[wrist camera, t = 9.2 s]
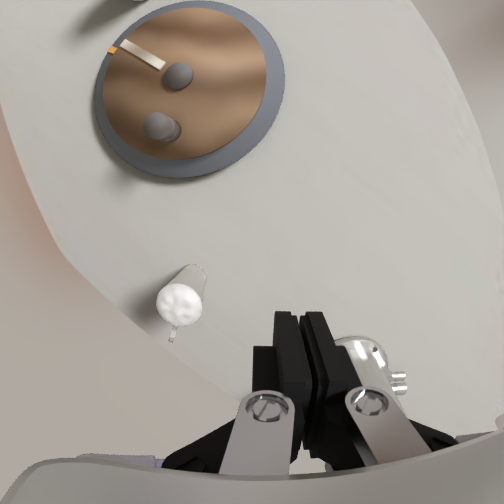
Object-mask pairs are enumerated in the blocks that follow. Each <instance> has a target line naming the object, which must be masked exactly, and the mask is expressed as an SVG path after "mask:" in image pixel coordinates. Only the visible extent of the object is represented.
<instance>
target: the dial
mask: <svg viewBox="0 0 504 504" xmlns="http://www.w3.org/2000/svg"><path fill="white" fill-rule="evenodd" d="M266 76H267V72H266V62H265V58H264V54H263V51H262V49H261V46H260V44H259V43H258V41H257V39H256V37H255V36H254V35H253V34H252V32H251V31H250V30H249V29H248V28H247V27H246V26H245V25H244V24H242V23H241V22H240V21H238V20H237V19H235V18H234V17H232V16H230V15H227V14H225V13H223V12H220V11H217V10H212V9H207V8H196V7H194V8H181V9H176V10H172V11H168V12H165V13H162V14H160V15H157V16H155V17H153V18H151V19H149V20H147V21H146V22H144V23H143V24H141V25H140V26H138V27H137V28H136V29H134V30H133V31H132V32H131V33H130V34H129V35H128V36H127V37H126V38H125V39H124V40H123V41H122V43H121V44H120V45H119V47H118V48H117V49H116V51H115V53H114V54H113V56H112V58H111V60H110V62H109V65H108V67H107V70H106V74H105V77H104V84H103V102H104V108H105V112H106V115H107V118H108V120H109V122H110V124H111V126H112V127H113V129H114V131H115V132H116V133H117V134H118V136H119V137H120V138H121V139H122V140H123V141H124V142H125V143H127V144H128V145H129V146H131V147H132V148H134V149H135V150H137V151H139V152H141V153H144V154H146V155H149V156H152V157H156V158H162V159H180V160H181V159H191V158H195V157H200V156H203V155H206V154H209V153H212V152H214V151H216V150H218V149H220V148H222V147H224V146H225V145H227V144H228V143H230V142H231V141H233V140H234V139H235V138H236V137H237V136H238V135H240V134H241V133H242V132H243V131H244V129H245V128H246V127H247V126H248V125H249V124H250V122H251V121H252V119H253V118H254V117H255V115H256V113H257V111H258V109H259V107H260V105H261V102H262V99H263V96H264V92H265V87H266Z"/></svg>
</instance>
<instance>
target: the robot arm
mask: <svg viewBox="0 0 504 504" xmlns="http://www.w3.org/2000/svg"><path fill="white" fill-rule="evenodd" d="M404 379H405V372H391V371H389V369H388V359H387V355H386V353H385V352H384V350H383V349H382V347H381V346H380V345H379V344H378V343H377V342H375V341H373V340H371V339H369V338H364V337H347V338H343V339H339V340H336V341H334V339H333V337H332V335H331V332H330V330H329V327H328V325H327V323H326V320H325V318H324V316H323V313H322V312H306V314H305V316H300V321H299V324H298V320H297V316H295V315H291V312H286V311H275V317H274V333H273V346H254V347H253V377H252V393H251V394H248V395H247V396H246V397H245V398H243V399H242V401H241V403H240V406H239V409H238V412H237V416H236V418H235V419H233V420H232V421H230V422H228V423H227V424H225V425H223V426H221V427H220V428H218V429H217V430H214V431H213V432H211V433H209V434H207V435H206V436H204V437H202V438H200V439H198V440H196V441H195V442H193V443H191V444H189V445H187V446H185V447H183V448H181V449H179V450H177V451H176V452H174V453H172V454H170V455H169V456H168V457H166V459H155V456H130V455H107V454H93V453H90V454H82V455H80V456H77V457H76V458H58V459H50V460H44V461H41V462H38V463H35V464H33V465H32V466H30V467H28V468H27V469H26V470H25V471H24V472H23V473H22V474H21V475H20V476H19V477H18V478H17V479H16V481H15V482H14V483H13V484H12V486H11V487H10V488H9V489H8V491H7V492H6V494H5V495H4V497H3V498H2V500H1V501H0V504H504V428H501V429H499V430H496V431H492V432H485V433H477V434H469V435H459V436H456V438H455V439H454V438H453V437H452V436H450V435H448V434H446V433H443V432H440V431H438V430H435V429H432V428H430V427H427V426H425V425H422V424H420V423H417V422H415V421H412V420H410V419H408V417H407V415H406V413H405V411H404V409H403V407H402V405H401V403H400V402H399V400H398V398H397V396H396V395H404V394H405V393H406V390H407V386H406V384H405V383H393V384H390V382H391V381H403V380H404ZM301 441H302V442H303V448H304V450H309V451H310V457H311V458H320V459H322V460H323V461H325V470H326V472H323V473H310V474H294V475H289V466H290V464H291V463H292V462H293V461H294V460H296V458H297V455H298V451H299V449H300V446H301Z"/></svg>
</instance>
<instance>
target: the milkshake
mask: <svg viewBox="0 0 504 504" xmlns="http://www.w3.org/2000/svg"><path fill="white" fill-rule="evenodd" d="M206 279H207V275H206V273H205V271H204V269H203V268H202V267H200V266H198V265H196V264H193V265H187V266H186V267H185V268H184V269H182V270H181V271H180V272H179V273H178V274H177V276H176V277H175V278H174V279H173V280H171V281H170V282H169V283H168V284H167V285H166V286H165V287H164V288H162V289H161V290H160V292H159V293H158V296H157V300H156V307H157V310H158V312H159V313H160V315H161V317H162V318H163V319H164V320H165V321H166V322H168V323H170V324H172V325H173V328H172V331H171V334H170V337H169V342H173V341H174V338H175V334H176V331H177V328H178V326H188V325H191V324H193V323H194V322H195V321H196V320H197V319H198V318H199V317H200V314H201V311H202V304H203V295H204V289H205V284H206Z"/></svg>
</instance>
